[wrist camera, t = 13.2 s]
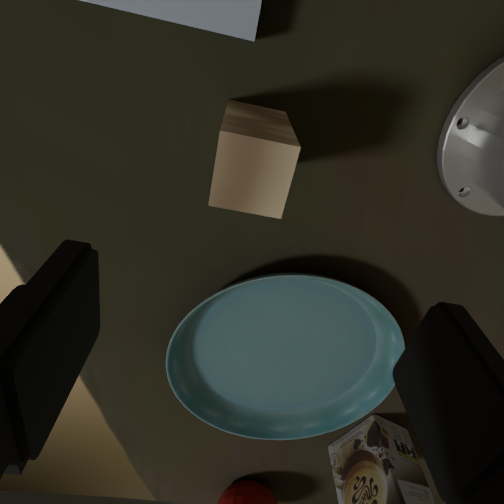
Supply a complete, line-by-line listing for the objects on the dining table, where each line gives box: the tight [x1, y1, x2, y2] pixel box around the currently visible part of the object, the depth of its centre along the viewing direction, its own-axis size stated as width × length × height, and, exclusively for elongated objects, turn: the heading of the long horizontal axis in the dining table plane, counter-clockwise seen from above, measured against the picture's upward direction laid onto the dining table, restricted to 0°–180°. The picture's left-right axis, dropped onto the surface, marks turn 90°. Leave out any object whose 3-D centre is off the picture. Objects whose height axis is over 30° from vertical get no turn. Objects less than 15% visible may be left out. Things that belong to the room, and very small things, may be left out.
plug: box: [208, 100, 301, 219], centre depth 23 cm, size 4×4×9 cm
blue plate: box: [166, 273, 405, 440], centre depth 38 cm, size 24×24×3 cm
